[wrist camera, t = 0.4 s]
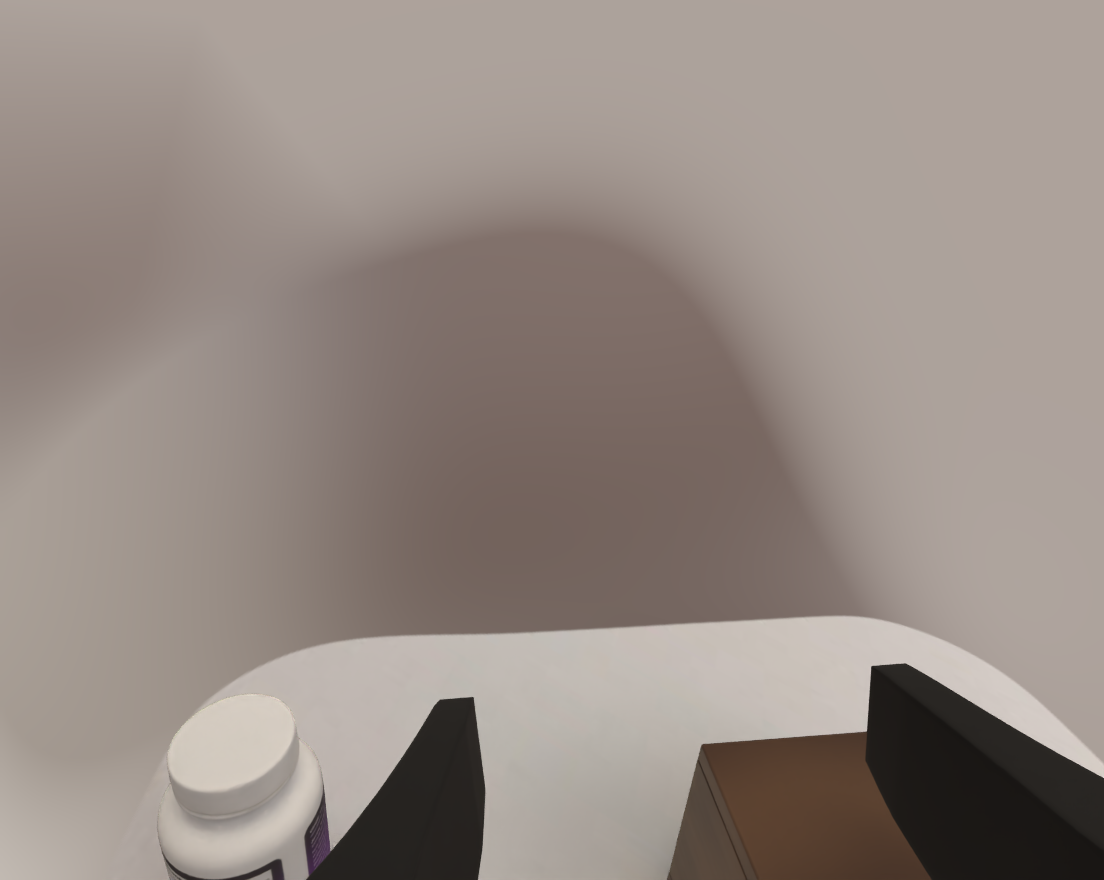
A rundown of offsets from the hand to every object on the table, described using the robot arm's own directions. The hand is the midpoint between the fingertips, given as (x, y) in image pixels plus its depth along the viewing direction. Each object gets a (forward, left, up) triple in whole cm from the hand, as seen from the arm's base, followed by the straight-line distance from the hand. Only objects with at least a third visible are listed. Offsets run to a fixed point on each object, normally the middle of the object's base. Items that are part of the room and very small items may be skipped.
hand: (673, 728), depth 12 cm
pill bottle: (+9, +11, -20) cm, 24 cm away
